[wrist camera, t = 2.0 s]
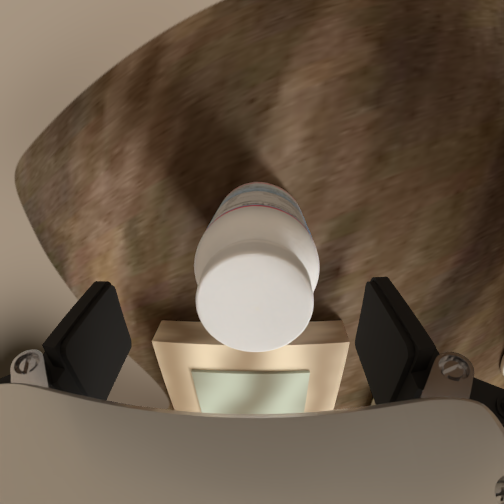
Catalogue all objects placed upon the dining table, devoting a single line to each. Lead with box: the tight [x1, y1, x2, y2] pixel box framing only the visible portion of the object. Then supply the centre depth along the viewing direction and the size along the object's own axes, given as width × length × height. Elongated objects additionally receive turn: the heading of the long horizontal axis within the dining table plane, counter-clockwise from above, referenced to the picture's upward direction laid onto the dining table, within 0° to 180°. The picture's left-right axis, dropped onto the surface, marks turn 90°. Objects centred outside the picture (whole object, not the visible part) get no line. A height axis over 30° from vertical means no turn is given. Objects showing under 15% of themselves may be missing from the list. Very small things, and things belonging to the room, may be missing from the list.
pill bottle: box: [194, 182, 319, 352], centre depth 16 cm, size 6×6×11 cm
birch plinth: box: [152, 320, 350, 414], centre depth 27 cm, size 16×16×3 cm
